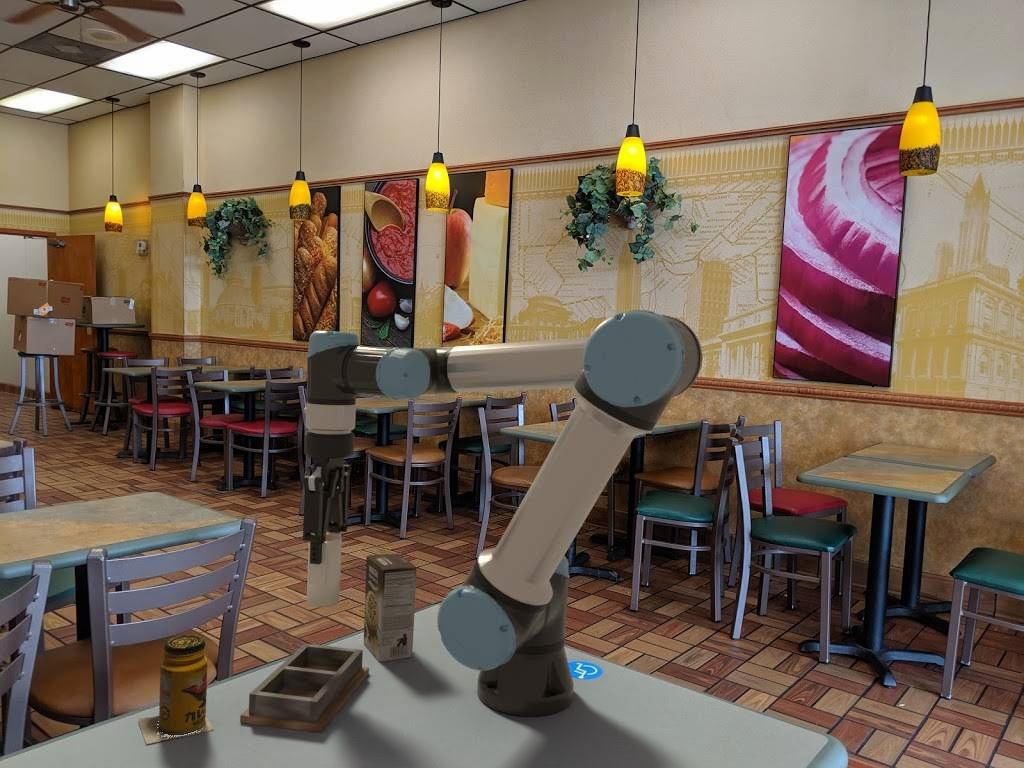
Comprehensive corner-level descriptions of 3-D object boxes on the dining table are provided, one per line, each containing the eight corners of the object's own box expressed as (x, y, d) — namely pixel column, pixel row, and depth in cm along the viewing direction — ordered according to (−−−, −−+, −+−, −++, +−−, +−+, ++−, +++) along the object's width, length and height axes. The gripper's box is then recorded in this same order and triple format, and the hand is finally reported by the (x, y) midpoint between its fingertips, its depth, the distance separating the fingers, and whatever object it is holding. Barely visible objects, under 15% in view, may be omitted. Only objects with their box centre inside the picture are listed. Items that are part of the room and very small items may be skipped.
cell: (343, 598, 125) (346, 531, 125) (332, 608, 120) (335, 539, 120) (314, 595, 126) (316, 529, 126) (301, 605, 121) (304, 536, 121)
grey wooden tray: (368, 673, 129) (369, 649, 128) (321, 732, 109) (322, 704, 109) (299, 665, 130) (300, 641, 130) (240, 722, 111) (241, 694, 110)
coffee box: (361, 643, 141) (365, 554, 140) (395, 638, 144) (399, 551, 143) (378, 662, 133) (382, 569, 132) (413, 657, 136) (417, 565, 135)
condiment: (213, 730, 108) (216, 645, 107) (146, 745, 103) (148, 656, 103) (201, 708, 114) (204, 627, 113) (137, 721, 109) (139, 637, 109)
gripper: (328, 423, 131) (323, 560, 132) (281, 435, 113) (276, 593, 115) (372, 426, 130) (366, 564, 131) (331, 439, 112) (325, 598, 114)
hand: (324, 577), depth 123 cm, fingers closed on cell, 5 cm apart
